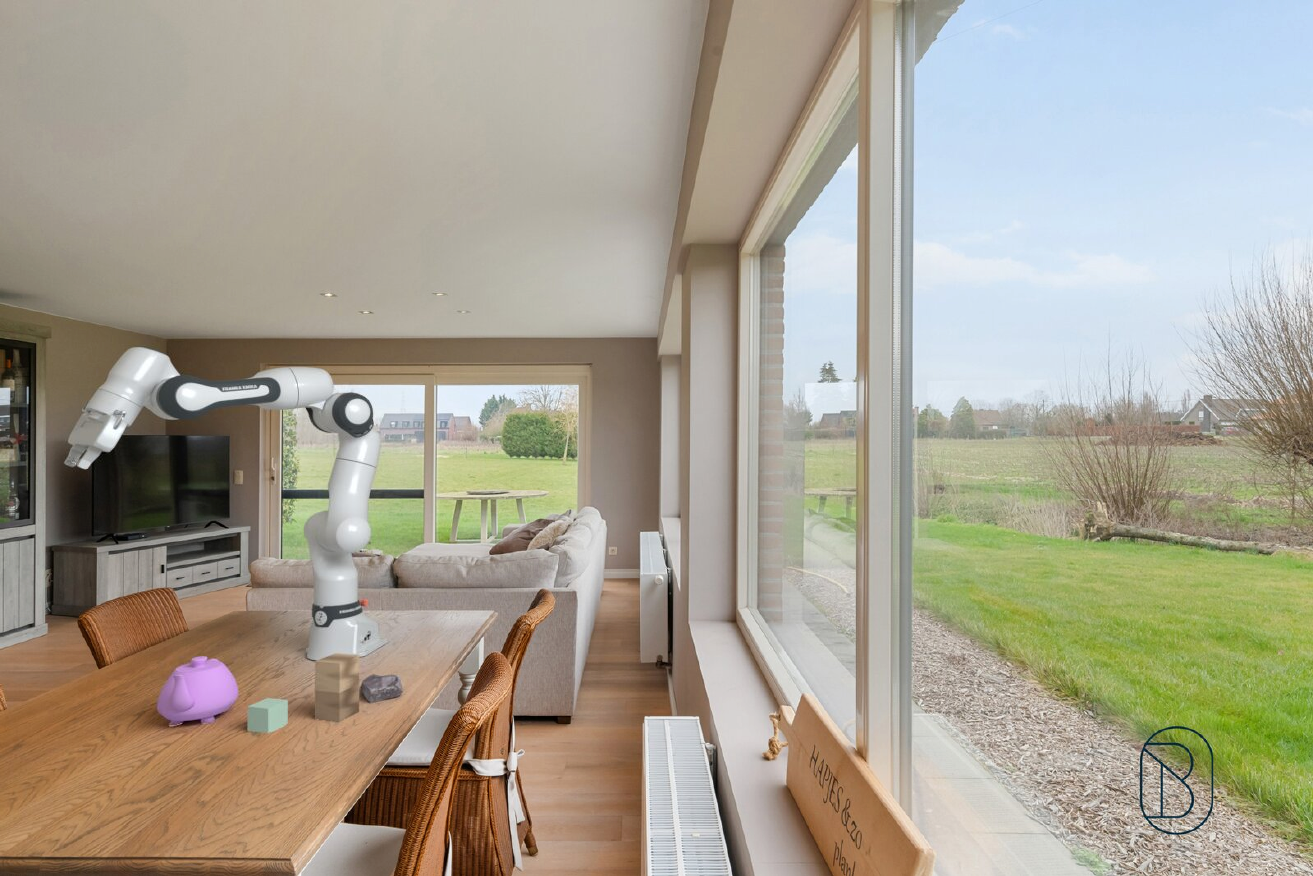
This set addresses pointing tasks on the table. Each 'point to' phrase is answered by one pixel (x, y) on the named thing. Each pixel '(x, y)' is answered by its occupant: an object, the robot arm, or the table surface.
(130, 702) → the table surface
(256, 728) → the sage block
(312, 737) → the table surface
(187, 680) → the teapot
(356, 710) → the tower bottom
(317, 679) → the tower top
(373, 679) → the rock
